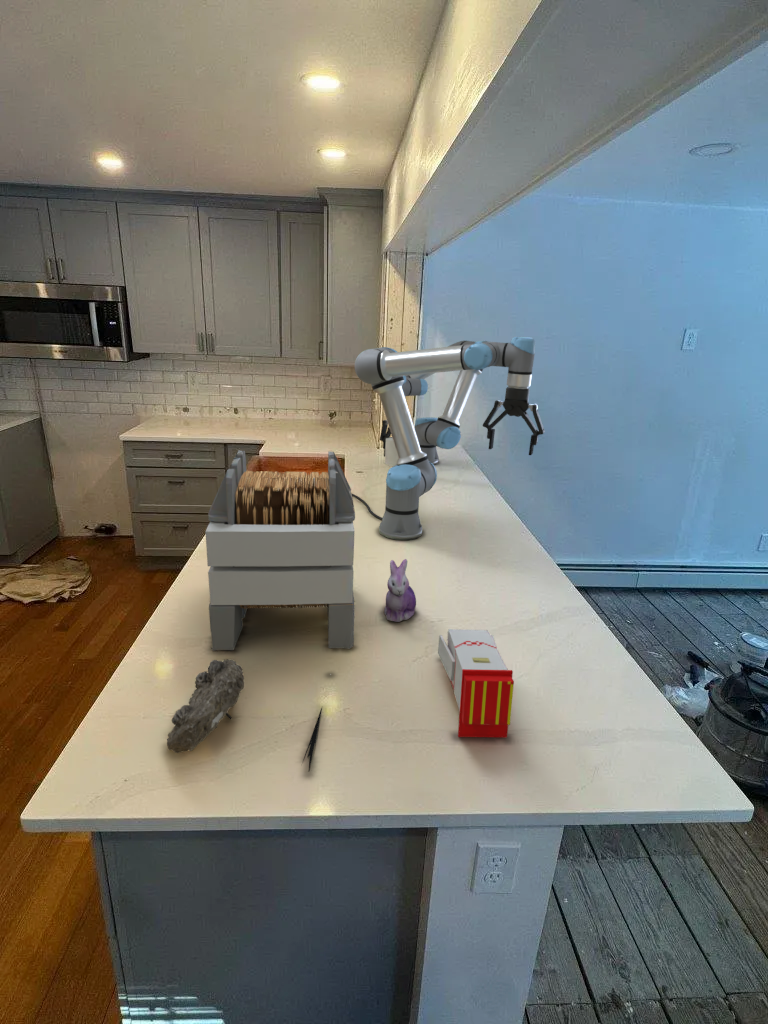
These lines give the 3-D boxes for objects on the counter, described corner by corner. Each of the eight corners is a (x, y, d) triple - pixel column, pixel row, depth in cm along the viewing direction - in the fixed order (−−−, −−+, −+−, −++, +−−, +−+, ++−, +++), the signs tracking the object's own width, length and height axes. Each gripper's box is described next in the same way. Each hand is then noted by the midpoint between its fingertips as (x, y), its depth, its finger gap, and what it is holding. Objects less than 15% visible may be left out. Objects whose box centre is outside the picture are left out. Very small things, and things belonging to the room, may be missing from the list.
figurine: (392, 627, 141) (395, 572, 136) (374, 608, 149) (376, 556, 144) (425, 619, 145) (429, 566, 140) (405, 601, 154) (408, 550, 149)
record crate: (231, 583, 159) (223, 441, 145) (347, 582, 163) (350, 443, 149) (209, 653, 127) (196, 479, 114) (354, 649, 131) (359, 481, 117)
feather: (331, 679, 122) (336, 673, 122) (307, 777, 96) (313, 769, 95) (324, 675, 122) (329, 669, 121) (298, 772, 95) (304, 764, 95)
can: (404, 466, 265) (406, 441, 261) (386, 466, 263) (387, 441, 259) (400, 461, 273) (401, 437, 269) (383, 461, 271) (384, 437, 267)
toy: (488, 613, 130) (523, 677, 101) (484, 667, 133) (517, 744, 104) (435, 612, 130) (455, 676, 101) (432, 666, 133) (451, 743, 103)
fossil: (192, 660, 117) (244, 628, 112) (224, 691, 120) (276, 661, 115) (142, 746, 98) (202, 712, 93) (182, 779, 101) (242, 748, 96)
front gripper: (559, 389, 181) (550, 454, 188) (484, 382, 191) (478, 444, 198) (555, 392, 174) (545, 459, 182) (477, 384, 185) (471, 448, 192)
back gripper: (372, 407, 262) (371, 455, 270) (411, 414, 251) (408, 463, 258) (382, 405, 268) (380, 452, 276) (420, 412, 256) (417, 460, 264)
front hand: (510, 451), depth 190 cm, fingers open, 13 cm apart
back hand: (394, 457), depth 267 cm, fingers closed on can, 9 cm apart
